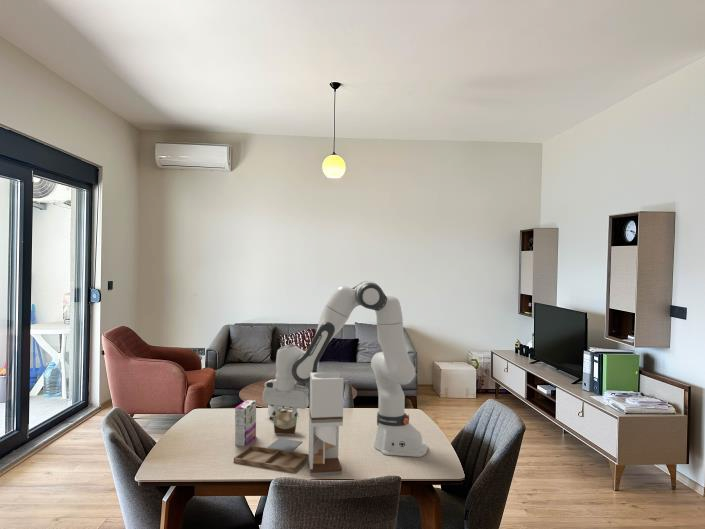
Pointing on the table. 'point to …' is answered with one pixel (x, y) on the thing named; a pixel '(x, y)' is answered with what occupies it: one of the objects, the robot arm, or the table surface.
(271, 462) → the walnut organizer
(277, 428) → the food container
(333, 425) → the display case
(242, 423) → the candy bar box
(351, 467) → the table surface
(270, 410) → the spread jar
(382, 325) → the robot arm
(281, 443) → the gray mat
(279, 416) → the maple block
